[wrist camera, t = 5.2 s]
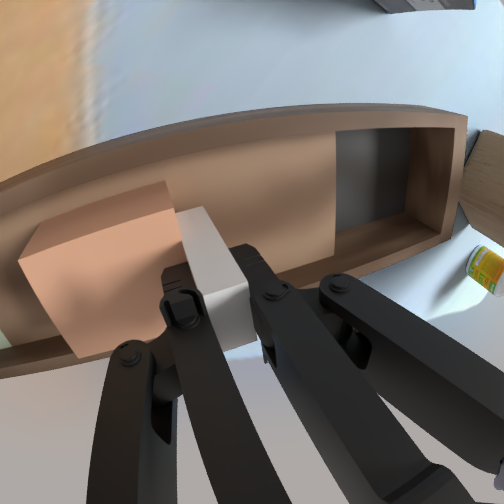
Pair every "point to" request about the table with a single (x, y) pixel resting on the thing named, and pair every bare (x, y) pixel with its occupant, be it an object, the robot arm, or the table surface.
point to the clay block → (106, 268)
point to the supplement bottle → (487, 270)
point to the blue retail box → (424, 5)
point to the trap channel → (251, 197)
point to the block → (485, 186)
